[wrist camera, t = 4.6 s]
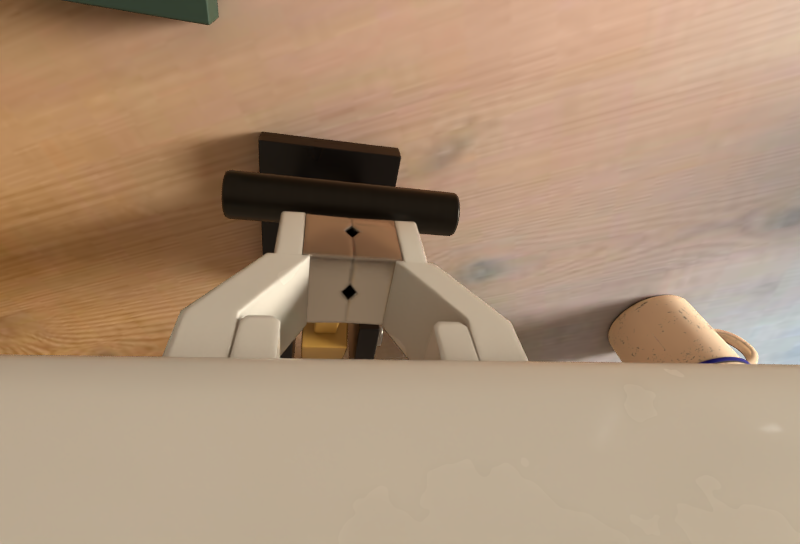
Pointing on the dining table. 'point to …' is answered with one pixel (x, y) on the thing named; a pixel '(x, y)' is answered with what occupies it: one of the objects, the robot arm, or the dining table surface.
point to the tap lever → (336, 198)
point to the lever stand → (335, 165)
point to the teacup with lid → (673, 335)
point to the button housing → (164, 8)
